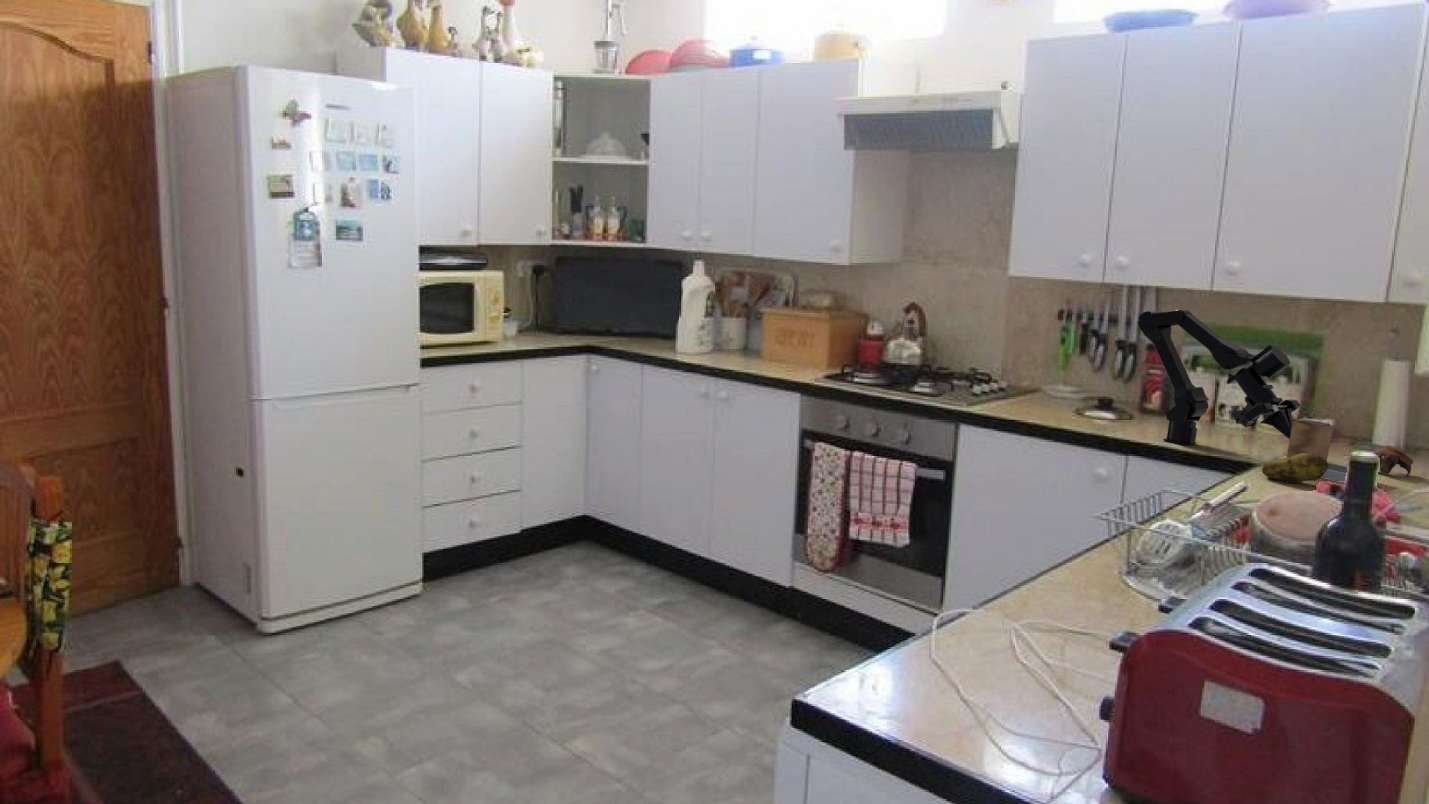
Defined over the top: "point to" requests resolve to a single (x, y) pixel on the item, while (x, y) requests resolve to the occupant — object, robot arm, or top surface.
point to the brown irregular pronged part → (1393, 459)
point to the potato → (1296, 468)
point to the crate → (1310, 438)
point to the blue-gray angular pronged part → (1334, 472)
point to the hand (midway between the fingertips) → (1292, 438)
